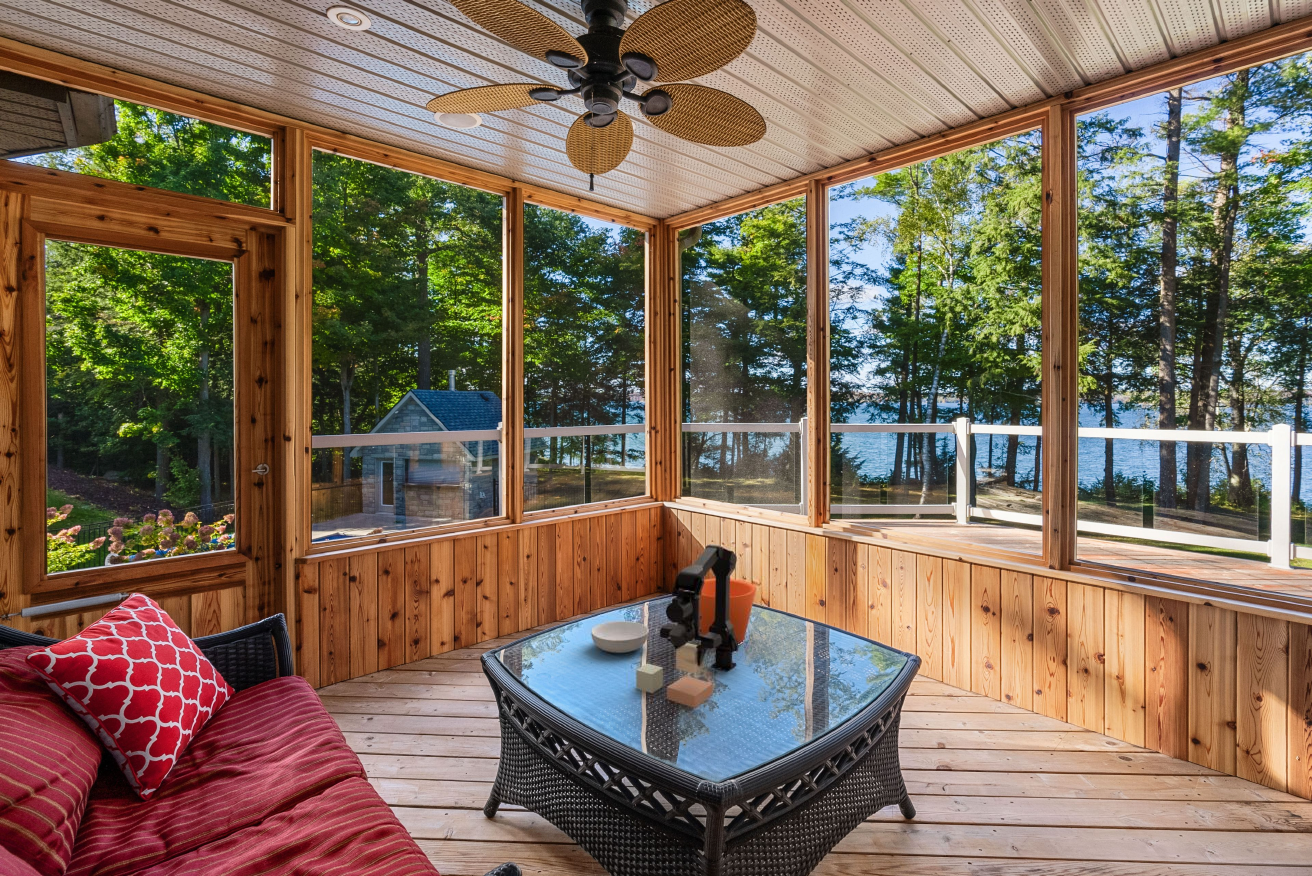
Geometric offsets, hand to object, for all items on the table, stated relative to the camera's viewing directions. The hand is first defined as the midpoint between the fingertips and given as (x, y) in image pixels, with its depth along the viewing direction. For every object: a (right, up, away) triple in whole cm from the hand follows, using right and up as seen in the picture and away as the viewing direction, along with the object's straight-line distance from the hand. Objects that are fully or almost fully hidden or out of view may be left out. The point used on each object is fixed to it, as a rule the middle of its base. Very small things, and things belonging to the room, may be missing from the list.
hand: (690, 663), depth 195 cm
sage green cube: (-12, -10, +7) cm, 17 cm away
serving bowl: (-23, -9, +40) cm, 47 cm away
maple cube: (0, -1, 0) cm, 1 cm away
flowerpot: (+15, -8, +48) cm, 51 cm away
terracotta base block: (0, -11, 0) cm, 11 cm away
